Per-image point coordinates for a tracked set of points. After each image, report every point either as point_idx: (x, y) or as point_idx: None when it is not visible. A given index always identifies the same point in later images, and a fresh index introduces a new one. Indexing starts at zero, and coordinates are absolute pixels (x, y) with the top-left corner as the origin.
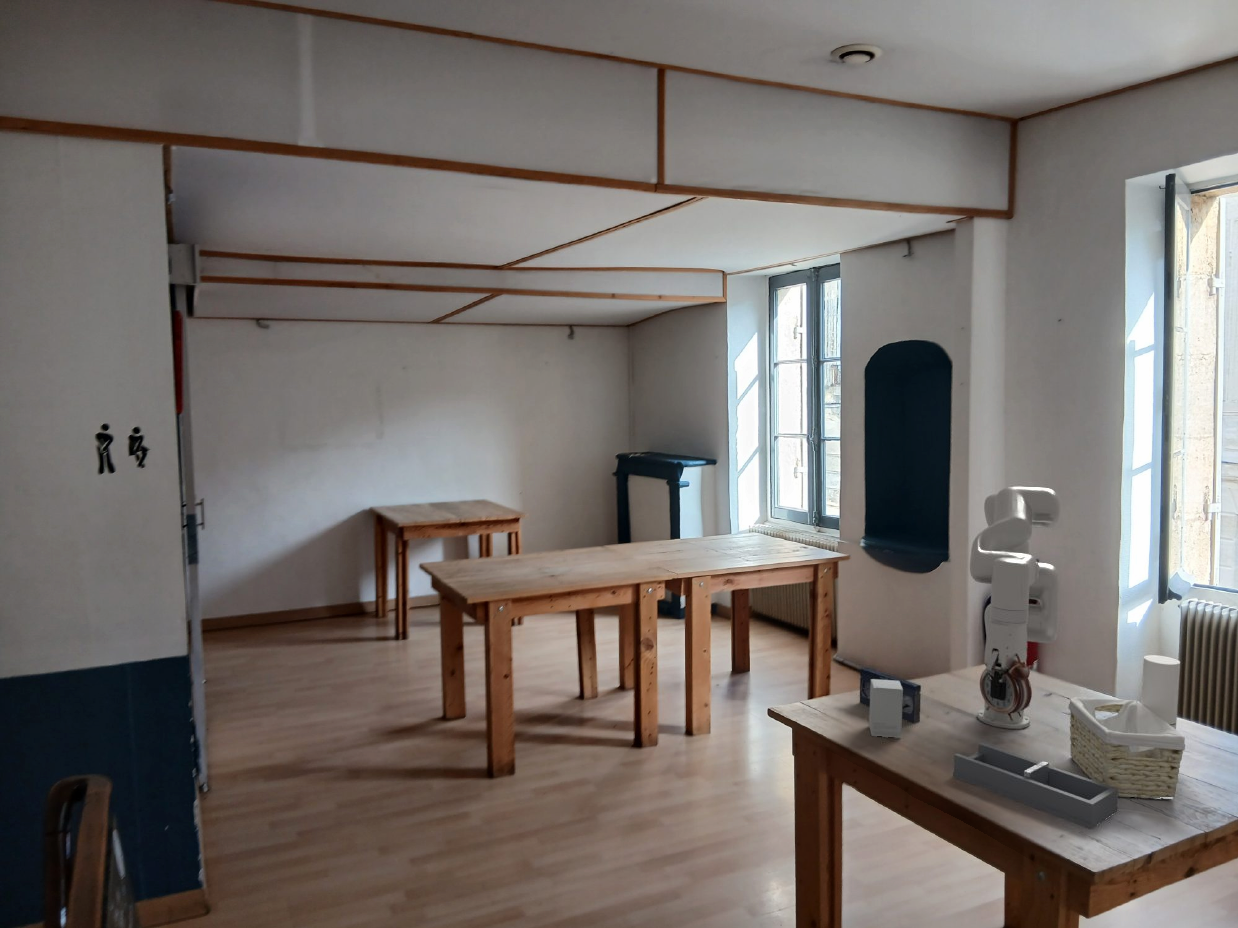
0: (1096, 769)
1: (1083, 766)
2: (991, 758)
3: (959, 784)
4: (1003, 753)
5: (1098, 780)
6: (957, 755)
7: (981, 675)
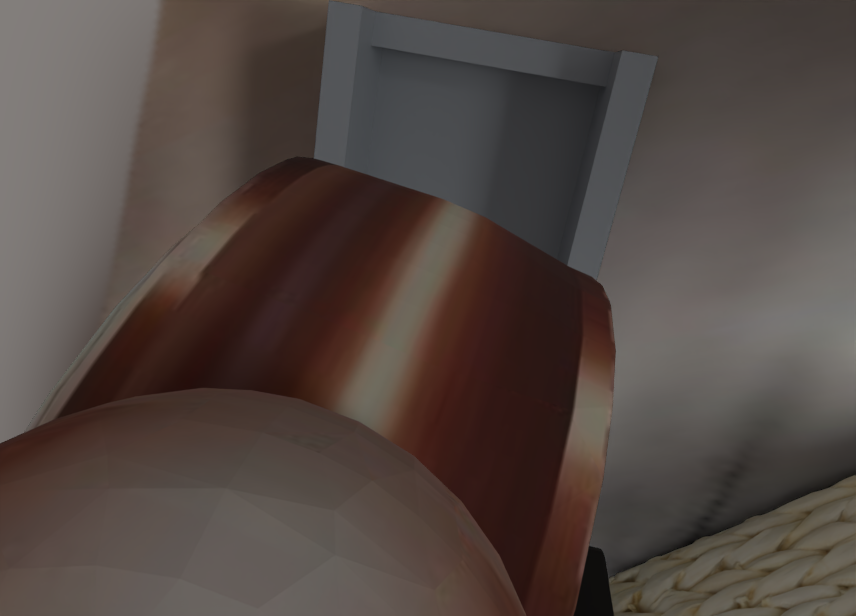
0: (714, 588)
1: (837, 498)
2: (591, 140)
3: (295, 80)
4: (576, 221)
5: (658, 576)
6: (330, 22)
7: (211, 219)
